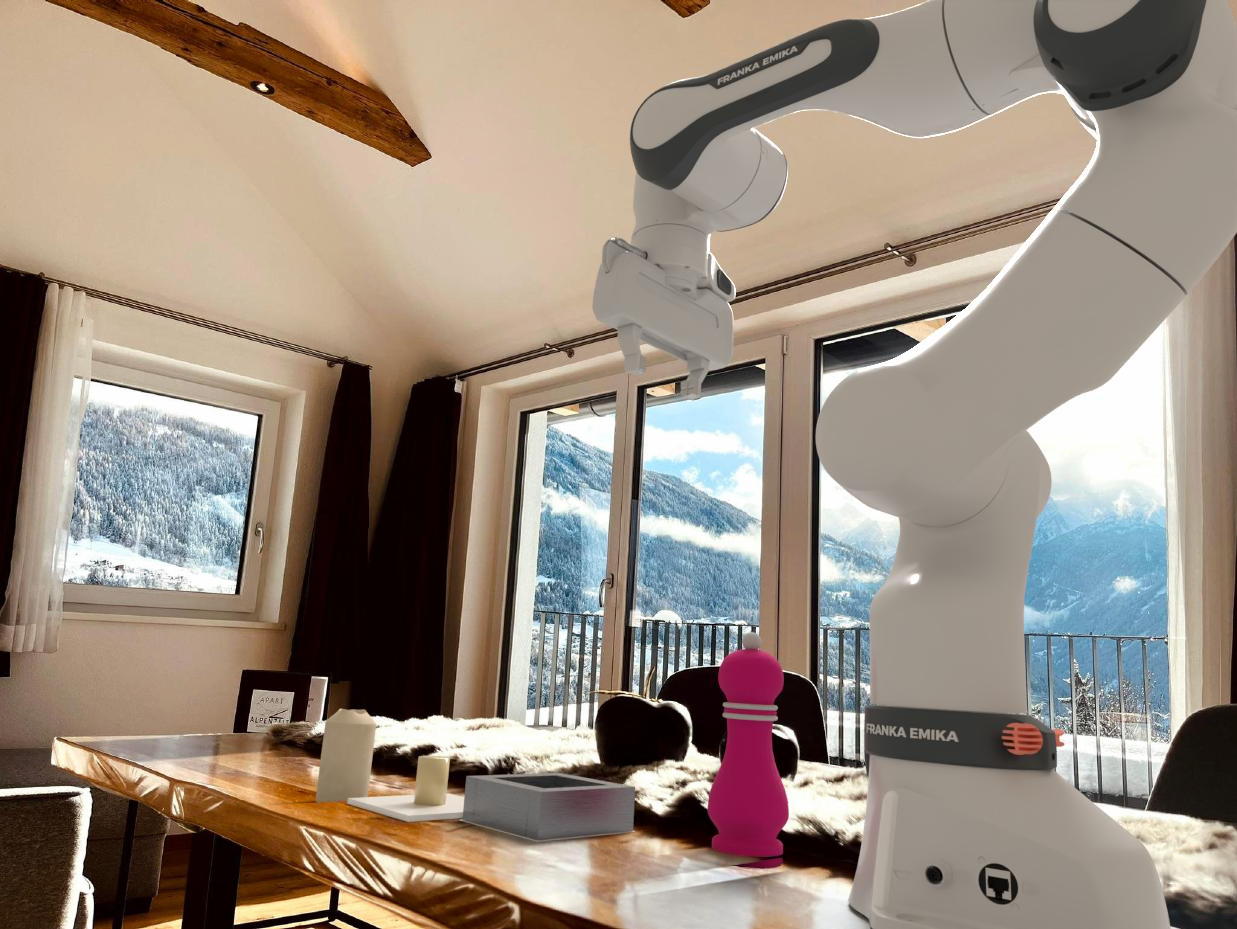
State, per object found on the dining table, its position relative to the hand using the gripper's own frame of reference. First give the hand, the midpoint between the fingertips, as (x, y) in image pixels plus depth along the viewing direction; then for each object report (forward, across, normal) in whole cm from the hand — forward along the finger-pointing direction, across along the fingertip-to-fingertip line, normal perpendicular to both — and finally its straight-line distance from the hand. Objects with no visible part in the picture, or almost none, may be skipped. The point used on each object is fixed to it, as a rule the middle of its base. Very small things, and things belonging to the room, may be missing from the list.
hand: (663, 385), depth 96 cm
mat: (+46, -6, +7) cm, 47 cm away
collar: (+45, -6, +7) cm, 46 cm away
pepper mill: (+46, +2, -11) cm, 47 cm away
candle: (+46, -12, +33) cm, 58 cm away
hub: (+46, -10, +20) cm, 51 cm away
